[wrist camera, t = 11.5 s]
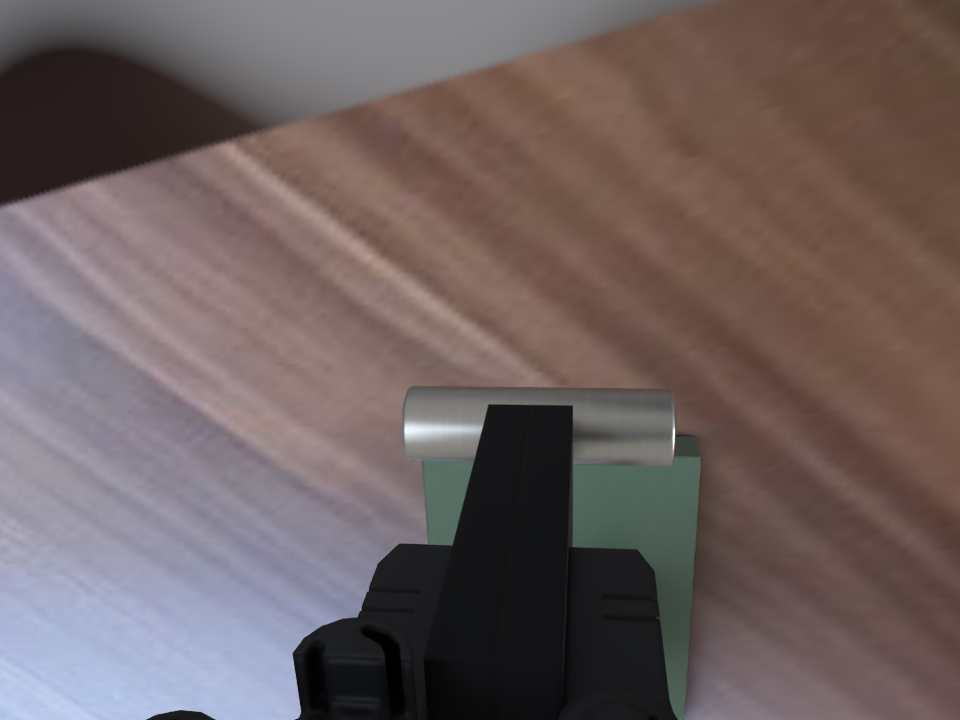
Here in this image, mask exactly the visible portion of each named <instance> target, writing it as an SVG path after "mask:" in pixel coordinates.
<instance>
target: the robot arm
mask: <svg viewBox="0 0 960 720" xmlns="http://www.w3.org/2000/svg"><path fill="white" fill-rule="evenodd" d="M293 659H294V666H295V673H296V679H297V686H298V693H299V699H300V706H301V714H300V717H299V718H298V719H296V720H678V719H677V717H676V716H675V714H674V712H673V709H672V706H671V702H670V699H669V691H668V682H667V673H666V665H665V656H664V648H663V639H662V630H661V622H660V613H659V605H658V596H657V587H656V579H655V571H654V570H653V569H652V567H651V566H650V565H649V563H648V562H647V561H646V560H645V558H644V557H643V556H642V554H641V553H640V552H639V550H638V549H613V548H584V547H573V405H509V404H488V408H487V412H486V416H485V420H484V424H483V428H482V432H481V435H480V439H479V443H478V447H477V451H476V455H475V459H474V463H473V467H472V471H471V475H470V479H469V483H468V486H467V490H466V494H465V498H464V502H463V506H462V510H461V514H460V518H459V522H458V526H457V530H456V534H455V538H454V541H453V545H427V544H398V545H397V546H396V547H395V548H394V549H393V550H392V551H391V552H390V553H389V554H388V555H387V556H386V557H385V558H383V559H382V560H381V561H380V562H379V563H378V565H377V568H376V570H375V573H374V576H373V578H372V581H371V584H370V586H369V592H367V594H366V597H365V599H364V602H363V605H362V611H360V613H359V615H358V618H346V619H341V620H338V621H335V622H332V623H329V624H327V625H324V626H321V627H320V628H318V629H317V630H315V631H314V632H312V633H311V634H309V635H308V636H306V637H305V638H304V639H303V640H302V642H301V643H300V644H299V646H298V647H297V648H296V650H295V651H294V652H293ZM146 720H215V719H213V718H211V717H209V716H208V715H206V714H204V713H202V712H194V711H183V710H179V711H174V712H168V713H163V714H158V715H155V716H153V717H151V718H149V719H146Z"/></svg>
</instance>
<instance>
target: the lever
mask: <svg viewBox="0 0 960 720" xmlns="http://www.w3.org/2000/svg"><path fill="white" fill-rule="evenodd" d="M488 404H509V405H573V465H615V466H658V467H668V466H671V465H672V463H673V461H674V457H675V447H676V409H675V399H674V395H673V392H672V391H671V390H669V389H621V388H539V387H457V386H412V387H410V388H409V389H408V391H407V393H406V396H405V399H404V404H403V411H402V442H403V448H404V452H405V455H406V457H407V459H409V460H411V461H443V462H474V459H475V455H476V451H477V447H478V443H479V439H480V435H481V432H482V428H483V424H484V420H485V416H486V412H487V408H488Z"/></svg>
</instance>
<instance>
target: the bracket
mask: <svg viewBox="0 0 960 720" xmlns="http://www.w3.org/2000/svg"><path fill="white" fill-rule="evenodd" d="M473 463H474V462H443V461H422V466H423V479H424V493H425V507H426V520H427V534H428V545H453V541H454V538H455V534H456V530H457V526H458V522H459V518H460V514H461V510H462V506H463V502H464V498H465V494H466V490H467V486H468V483H469V479H470V475H471V471H472V467H473ZM700 471H701V455H700V451H699V447H698V443H697V439H696V437H694V436H676V447H675V457H674V461H673V463H672V465H671V466H668V467H658V466H615V465H573V547H584V548H613V549H638V550H639V552H640V553H641V554H642V556H643V557H644V558H645V560H646V561H647V562H648V563H649V565H650V566H651V567H652V569H653V570H654V571H655V579H656V587H657V596H658V605H659V613H660V622H661V630H662V639H663V648H664V656H665V665H666V673H667V682H668V691H669V699H670V702H671V706H672V709H673V712H674V714H675V716H676V717H677V719H678V720H685V705H686V689H687V674H688V658H689V643H690V627H691V611H692V596H693V580H694V565H695V549H696V534H697V518H698V503H699V487H700Z"/></svg>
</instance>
